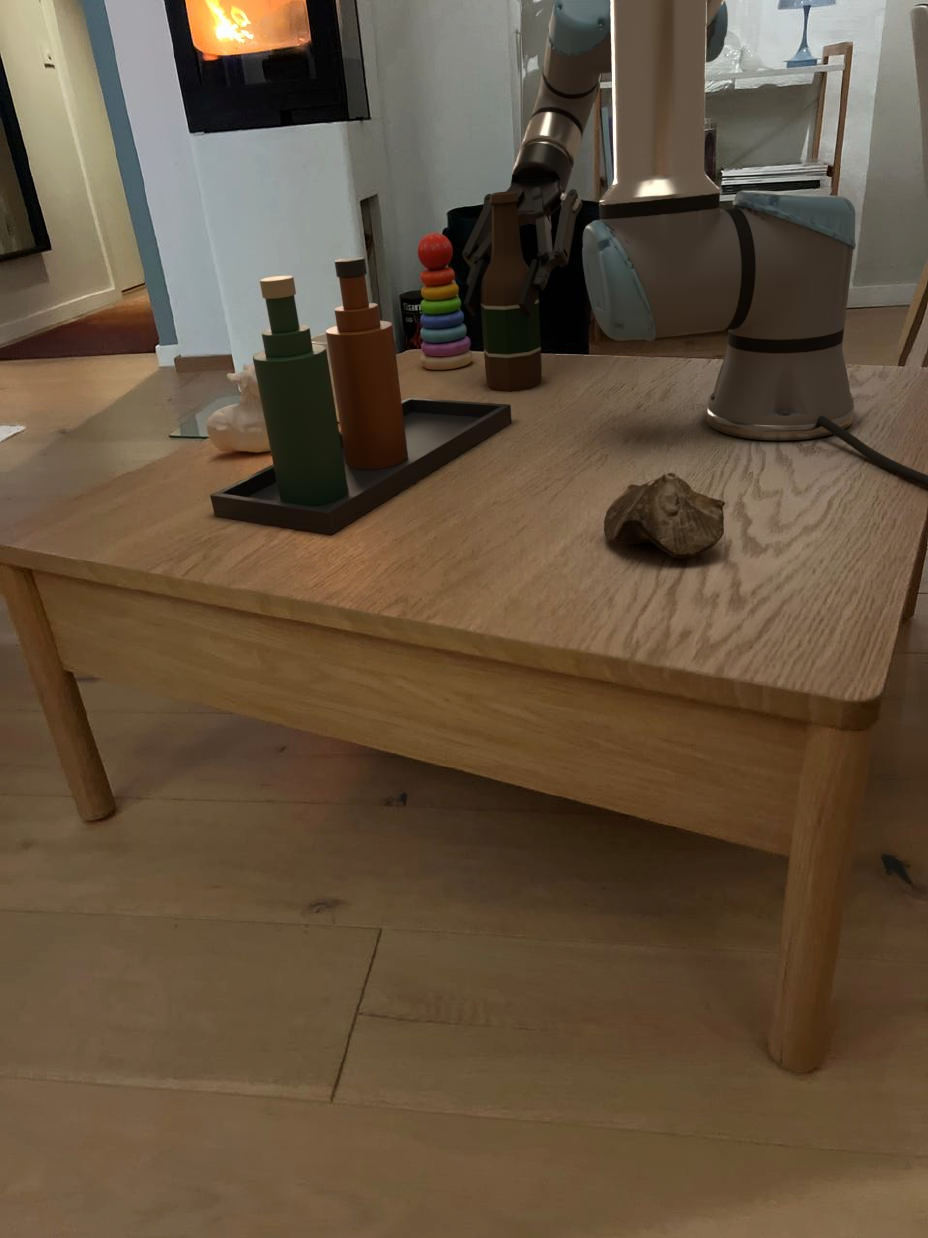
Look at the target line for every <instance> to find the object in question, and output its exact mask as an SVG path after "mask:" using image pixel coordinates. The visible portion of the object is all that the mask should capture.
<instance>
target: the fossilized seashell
mask: <svg viewBox="0 0 928 1238" xmlns="http://www.w3.org/2000/svg"><path fill="white" fill-rule="evenodd" d="M725 505H726V502H725V501H723V500H721V499H716V498H714V497H709V496H707V495H704V494H702V493H699V492H696V491H694V490H693V489H692V487H691V486H690V485H689V484H688V482H686V481H685V480H684V479H683V478H681V477H680V476H678V475H677V474H675V473H674V472H665V473H663V474H662V475H661V476H659V477H657V478H654V479H652V480H650V481H647V482H645V483H643V484H641V485H638V484H634V483H633V484H629V485H628V486H627V488H626V489H625V491H624V492H623V493H622V494H621V495H619V496H618V497H617V498H616V499H615V500H613V502H611V505H610V506H609V507H608V509H607V510H606V512H605V517H604V520H603V532H604V536H605V538H606V540H607V541H608V542H611V543H619V544H621V543H622V544H627V545H628V544H629V545H634V544H649V543H653V544H654V545H655V546H656V547H657V548H659V549H660V550H661V551H663V552H665V553H666V554H668V555H670V556H671V557H672V558H676V559H688V558H691V557H695V556H698V555H701V554H703V553H704V552H706V551H708V550H709V549H711V548H712V547H714V546H715V545H716V544H717V543H718V542H719V541H720V540H721V539H722V538H723V536H724V534H725V524H724V521H725V516H724V510H723V507H724V506H725Z"/></svg>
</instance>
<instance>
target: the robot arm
mask: <svg viewBox="0 0 928 1238" xmlns="http://www.w3.org/2000/svg"><path fill="white" fill-rule="evenodd" d="M728 26H729V14H728V6H727V2H726V0H554V3H553V7H552V9H551V14H550V19H549V22H548V25H547V30H546V35H547V38H546V45H545V52H544V59H543V61H544V62H543V66H542V70H541V76H540V82H539V88H538V93H537V96H536V101H535V104H534V106H533V110H532V114H531V117H530V119H529V121H528V125H527V127H526V130H525V132H524V135H523V136H524V137H523V139H522V142H521V145H520V149H519V152H518V155H517V157H516V160H515V162H514V166H513V169H512V172H511V179H510V185H509V186H508V188H507V189H506V190H505V192H507V191H513V192H515V193H517V196H518V199H519V201H518V202H517V203H516V204H517V213H518V223H519V230H520V229H521V227H522V226H527V225H534V226H535V228H536V239H537V250H538V252H537V253H536V255H537V257H538V258H539V260H538V258H537V259H536V258H535V259H534V258H533V259H531V262H530V264H529V271H528V274H527V277H526V280H525V283H524V286H523V289H522V293H521V296H520V299H519V302H518V305H519V307H520V308H521V310H522V312H523V313H524V315H525V316H528V317H531V314H532V311H533V308H534V305H535V301H536V298H537V295H538V296H539V292H544V290H545V288H546V287H547V285H548V281H549V277H550V273H551V271H553V270H554V269H555V267H561V268H564V267H566V266H568V264H569V259H570V253H571V247H572V243H573V236H574V230H575V226H576V225H575V224H576V219H577V216H578V215H579V213H580V211H581V209H582V207H583V202H582V200H581V198H580V196H579V195H580V194H579V193H578V191H577V189H575V188H572V189H570V190H569V191H568V192H566V191H567V188H568V184H569V182H570V178H571V175H572V173H573V172H572V171H573V168H574V165H575V162H576V158H577V157H578V153H579V149H580V147H581V144H582V140H583V136H584V133H585V129H586V127H587V125H588V121H589V118H590V115H591V112H592V109H593V106H594V104H595V102H596V100H597V97H598V94H599V89H600V83H601V78H602V74H611V96H612V97H611V101H612V103H611V104H612V106H611V107H612V108H611V109H612V149H613V150H612V152H613V181H612V183H611V185H610V187H609V188H608V189H607V190H606V191H605V193H604V194H603V196H601V198H600V199H599V201H598V202H599V203H598V210H599V213H598V214H599V219H596V220H593V221H591V222H590V223H588V224H587V225H586V226H585V228H584V229H583V233H582V249H581V256H582V267H583V274H584V281H585V286H586V290H587V295H588V299H589V303H590V306H591V309H592V312H593V315H594V318H595V320H596V322H597V324H598V326H599V328H600V329H601V331H602V332H603V333H604V334H605V335H606V336H607V337H609V338H610V339H611V340H614V341H617V342H618V341H619V342H620V341H621V342H623V341H624V342H625V341H640V340H642V341H643V340H644V341H648V342H651V341H654V340H655V339H658V338H669V337H678V336H686V335H688V336H689V335H696V334H704V333H713V332H722V331H723V332H724V331H727V347H726V354H725V356H724V359H723V360H722V364H721V367H720V370H719V372H718V375H717V378H716V381H715V385H714V388H713V392H712V393H711V394H710V396H709V399H708V402H707V403H708V404H707V407H706V408H707V409H706V410H707V411H706V423H707V424H708V426H710V427H711V428H712V429H714V430H716V431H718V432H720V433H723V434H726V435H730V436H733V437H736V438H737V437H739V438H743V439H751V440H761V441H762V440H763V441H799V440H809V439H815V438H816V439H817V438H821V437H826V436H830V435H834V436H835V437H836V438H838V439H840V440H841V441H843V442H845V443H846V444H847V445H848V446H850V447H851V448H853V449H854V450H855V451H857V452H858V453H860V454H861V455H863V456H864V457H866V459H869V460H870V461H872V462H873V463H876V464H877V465H879V466H881V467H883V468H884V469H887V470H888V471H891V472H893V473H894V474H897V475H899V476H901V477H903V478H906V479H909V480H911V481H913V482H915V483H917V484H919V485H922V486H925V487H927V488H928V474H925V473H923V472H921V471H918V470H915V469H913V468H911V467H908V466H906V465H903V464H902V463H900V462H897V461H896V460H893V459H892V458H890V457H887V456H885V455H884V454H882V453H880V452H878V451H877V450H876V449H873V448H872V447H870V446H868V445H867V444H866V443H864V441H861V440H860V439H859V438H857V437H856V436H854V435H853V434H851V433H850V432H849V431H848V430H845V429H847V428H848V427H850V426H851V424H852V423H853V417H854V409H855V404H854V397H853V395H852V393H851V388H850V381H849V377H848V370H847V366H846V361H845V357H844V352H843V343H844V334H845V333H844V332H845V325H846V317H847V309H848V301H849V299H848V298H849V291H850V283H851V274H852V266H853V257H854V250H855V249H856V246H857V245H856V208H855V206H854V204H853V203H852V202H851V200H850V199H848V198H846V197H845V196H841V195H840V196H839V195H831V194H822V193H808V192H807V193H806V192H805V193H804V192H791V191H773V190H772V191H771V190H740V191H738V192H737V193H736V194H735V196H734V198H733V201H732V206H733V207H730V208H723V209H722V208H721V209H720V207H721V205H720V203H721V199H720V198H721V189H720V187H718V186H717V185H716V184H715V183H714V182H713V180H712V179H711V178H710V177H709V176H708V175H707V173H706V171H705V140H706V139H705V135H706V134H705V133H706V131H705V129H706V128H705V127H706V78H707V77H706V74H707V73H706V70H707V69H706V68H707V63H712V62H713V61H715V60H716V59H718V57H719V56H720V55H721V53H722V51H723V49H724V46H725V39H726V37H727V35H728V28H729V27H728ZM491 194H492V193H487V194H485V196H484V198H483V205H482V210H481V212H480V214H479V216H478V219H477V221H476V223H475V224H474V226H473V228H472V231H471V233H470V235H469V237H468V239H467V241H466V244H465V246H464V248H463V250H462V252H461V255H462V257H463V259H464V261H465V263H467V265H468V266H469V268H470V269H469V272H468V275H467V279H466V285H467V287H468V289H467V291H466V295H465V298H464V301H463V305H464V306H465V307H466V309H467V310H468V312H469V313H470V315H471V316H472V317H473V316H474V317H475V316H476V317H477V316H478V313H479V311H480V309H481V284H482V280H483V276H484V274H485V272H486V270H487V268H488V266H489V264H490V262H491V254H492V205H491V204H490V203H489V199H490V195H491ZM559 208H560V211H559V216H558V223H557V228H556V233H555V240H554V244H553V240H552V218H551V215H552V214H553V213H554V212H555V211H556V210H558V209H559Z"/></svg>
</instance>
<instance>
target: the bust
mask: <svg viewBox="0 0 928 1238" xmlns="http://www.w3.org/2000/svg"><path fill="white" fill-rule="evenodd" d="M242 366H243V368H242V369H243V370H242V371H236V372H235V373H231V372H229V373H227V374H226V378H227V380H228V381H229V382H230V383H231V384H236V385H237V386H238V387H239V390H240V398H241V399H240V401H239V402H238V403H237V404H229V405H225V406H224V407H222V408H219V409H217V410H215V411H214V412H213V413H212V414H211V415H210V416H209V417H208V418H207V421H206V432H207V435H208V437H209V439H210V441H211V443H212V444H213V446H214V447H215V448H216V449H217V450H218V451H220V452H223V453H228V452H247V453H257V454H258V453H265V452H267V453H268V452H271V450H270V445H269V440H268V434H267V429H266V424H265V419H264V414H263V409H262V403H261V398H260V393H259V388H258V383H257V378H256V373H255V367H254V362H253V363H250V364H246V363H244V364H242Z"/></svg>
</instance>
